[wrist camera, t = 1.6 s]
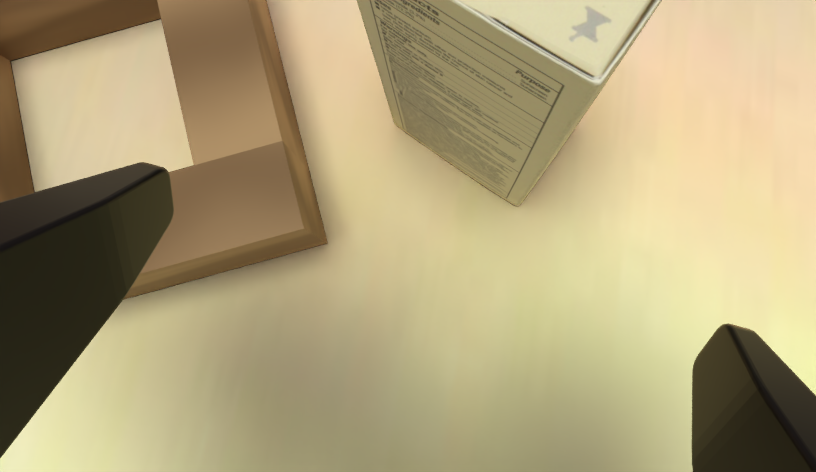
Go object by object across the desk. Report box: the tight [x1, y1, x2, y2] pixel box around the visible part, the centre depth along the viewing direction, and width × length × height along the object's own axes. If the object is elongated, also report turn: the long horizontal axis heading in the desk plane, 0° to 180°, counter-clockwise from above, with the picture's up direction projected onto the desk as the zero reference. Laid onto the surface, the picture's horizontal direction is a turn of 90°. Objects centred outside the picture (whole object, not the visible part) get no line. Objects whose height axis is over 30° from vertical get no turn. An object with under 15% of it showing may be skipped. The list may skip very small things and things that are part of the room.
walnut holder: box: [0, 0, 327, 299], centre depth 21 cm, size 14×14×4 cm
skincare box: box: [357, 0, 662, 206], centre depth 16 cm, size 6×4×12 cm
